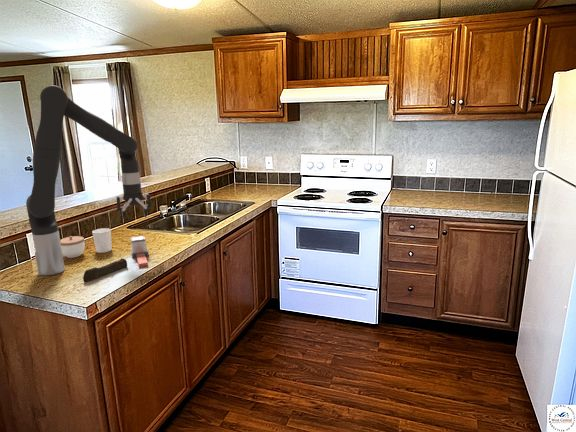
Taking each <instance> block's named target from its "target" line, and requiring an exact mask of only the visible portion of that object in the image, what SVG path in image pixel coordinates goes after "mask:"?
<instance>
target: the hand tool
mask: <svg viewBox="0 0 576 432" xmlns="http://www.w3.org/2000/svg"><path fill="white" fill-rule="evenodd" d="M125 268H128V261H127V259H125V258H119V260H117V261H113V262H111V263H109V264H106V265H104V266H100V267H95V266H94V267H92V268H88V269H87V270H85V271H84V273H83V277H82V279H83V282H84V283H87V282H92V281H95V280H98V279H99V278H100V277H101V276H104V275H107V274H110V273H113V272H115V271H117V270H120V269H125Z"/></svg>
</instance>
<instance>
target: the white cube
mask: <svg viewBox="0 0 576 432" xmlns="http://www.w3.org/2000/svg"><path fill="white" fill-rule="evenodd" d="M130 246H131V249H132V252H133V253H140V252H146V251H147V250H148V249H147V250H146V247H147V242H146V238H145V235H139V236H131V237H130Z"/></svg>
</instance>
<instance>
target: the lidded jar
mask: <svg viewBox="0 0 576 432" xmlns="http://www.w3.org/2000/svg"><path fill="white" fill-rule="evenodd" d="M60 243H61V249H62V254H63V257H66V258H68V259H69V258H71V259H72V258H78V257H80V256H81V255H82V253H83V252H84V250H85V244H86V243H85V238H84V237H83V236H78V235H77V236H76V235H75V236H72V235H69V236H68V237H67V236H66V237H64V238H62V239H61V238H60Z"/></svg>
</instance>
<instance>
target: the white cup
mask: <svg viewBox="0 0 576 432" xmlns="http://www.w3.org/2000/svg"><path fill="white" fill-rule="evenodd" d="M91 232H92V238H93V243H94V247H95V252H96V253H99V254H102V253H103V254H104V253H107V252H111V251H112V249H113V248H112V246H113V245H112V233H111V228H107V227H105V228H104V227H103V228H102V227H101V228H97V229H94V230H92V231H91Z"/></svg>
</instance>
